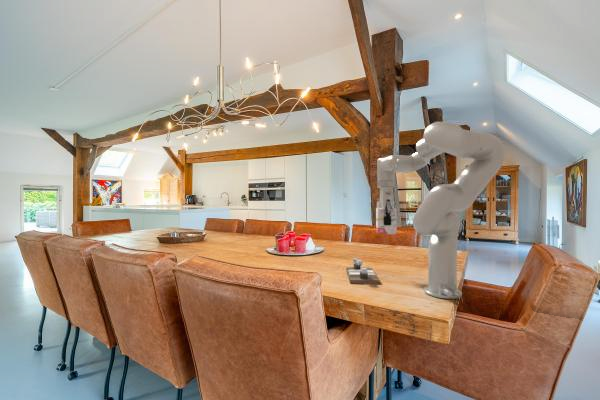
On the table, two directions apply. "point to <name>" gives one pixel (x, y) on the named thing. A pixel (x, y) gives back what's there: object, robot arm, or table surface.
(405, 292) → the table surface
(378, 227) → the ink cartridge box
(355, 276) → the board
